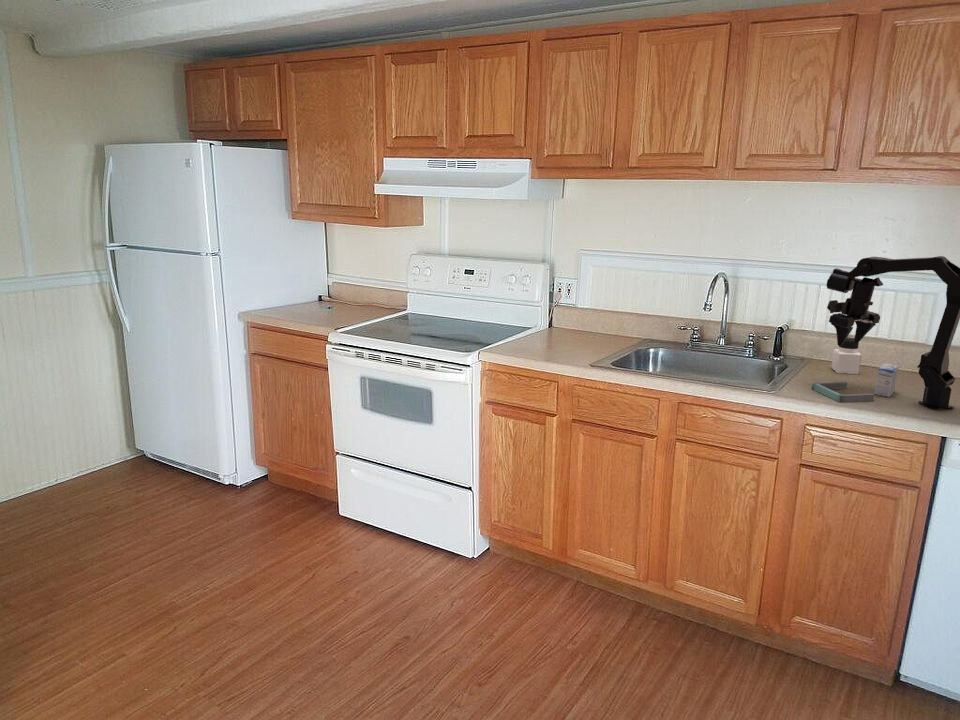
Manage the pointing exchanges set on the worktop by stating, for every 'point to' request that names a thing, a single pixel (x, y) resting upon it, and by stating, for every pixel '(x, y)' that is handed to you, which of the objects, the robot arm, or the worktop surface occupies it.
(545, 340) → the worktop surface
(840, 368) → the medicine bottle
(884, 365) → the medicine box
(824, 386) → the frame
